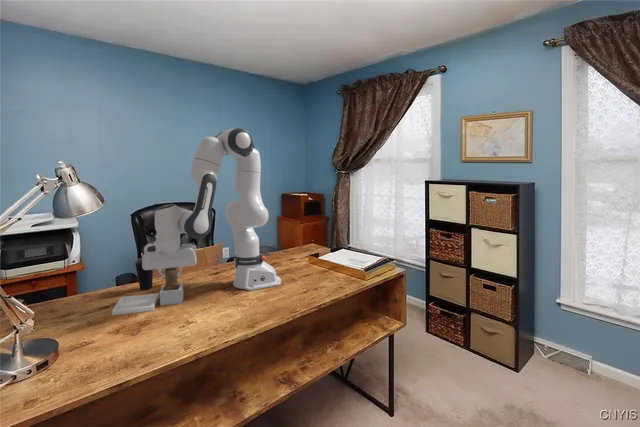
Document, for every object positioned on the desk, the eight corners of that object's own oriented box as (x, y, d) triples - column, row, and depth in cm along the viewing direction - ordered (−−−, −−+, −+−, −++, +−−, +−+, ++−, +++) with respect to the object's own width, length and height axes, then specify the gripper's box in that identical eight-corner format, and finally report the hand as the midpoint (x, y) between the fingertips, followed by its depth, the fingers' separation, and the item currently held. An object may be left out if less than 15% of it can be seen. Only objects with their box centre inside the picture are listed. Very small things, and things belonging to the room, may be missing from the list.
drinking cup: (148, 293, 151) (144, 249, 148) (133, 292, 153) (129, 248, 150) (159, 287, 158) (156, 245, 155) (144, 286, 160) (141, 244, 157)
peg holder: (183, 297, 146) (182, 283, 145) (182, 305, 139) (181, 289, 138) (163, 300, 144) (162, 285, 143) (160, 307, 136) (159, 292, 135)
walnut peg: (178, 294, 144) (176, 267, 142) (177, 298, 140) (175, 270, 138) (168, 295, 142) (166, 268, 141) (167, 299, 139) (164, 271, 137)
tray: (158, 298, 145) (158, 293, 145) (153, 312, 132) (152, 306, 132) (121, 302, 141) (121, 297, 141) (112, 317, 128) (111, 311, 128)
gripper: (196, 241, 144) (198, 272, 146) (142, 245, 138) (145, 278, 140) (195, 244, 138) (198, 277, 140) (139, 248, 132) (142, 283, 134)
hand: (171, 277), depth 140 cm, fingers closed on walnut peg, 4 cm apart
